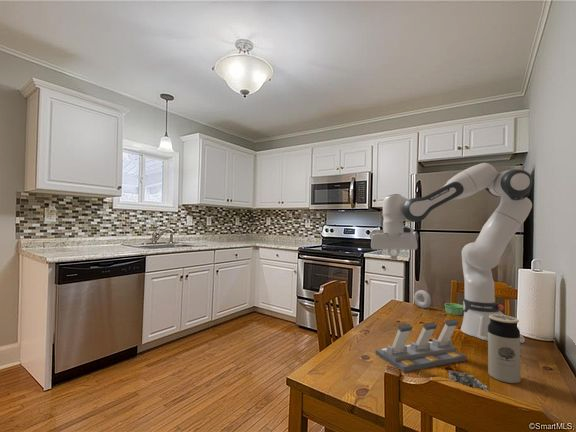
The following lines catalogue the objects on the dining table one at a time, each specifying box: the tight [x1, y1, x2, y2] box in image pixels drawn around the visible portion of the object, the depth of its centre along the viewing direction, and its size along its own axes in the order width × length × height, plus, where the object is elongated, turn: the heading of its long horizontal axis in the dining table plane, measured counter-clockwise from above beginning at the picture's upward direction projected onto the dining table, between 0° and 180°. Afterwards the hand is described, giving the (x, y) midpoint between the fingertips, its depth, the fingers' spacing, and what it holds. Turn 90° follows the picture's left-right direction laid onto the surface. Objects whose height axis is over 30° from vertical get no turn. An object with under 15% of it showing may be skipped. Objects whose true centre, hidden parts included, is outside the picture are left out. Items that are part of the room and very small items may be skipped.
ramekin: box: [444, 302, 464, 316], centre depth 159 cm, size 9×9×4 cm
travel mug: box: [487, 314, 521, 384], centre depth 91 cm, size 8×8×18 cm
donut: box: [413, 289, 432, 309], centre depth 169 cm, size 10×4×10 cm, turn 32°
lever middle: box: [414, 321, 438, 349], centre depth 103 cm, size 2×4×11 cm, turn 110°
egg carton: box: [448, 369, 490, 392], centre depth 83 cm, size 11×8×4 cm
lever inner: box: [437, 318, 460, 345], centre depth 106 cm, size 2×4×11 cm, turn 110°
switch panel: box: [375, 338, 468, 373], centre depth 105 cm, size 14×27×5 cm, turn 110°
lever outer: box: [391, 323, 413, 352], centre depth 100 cm, size 2×4×11 cm, turn 110°
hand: (394, 259), depth 137 cm, fingers closed
